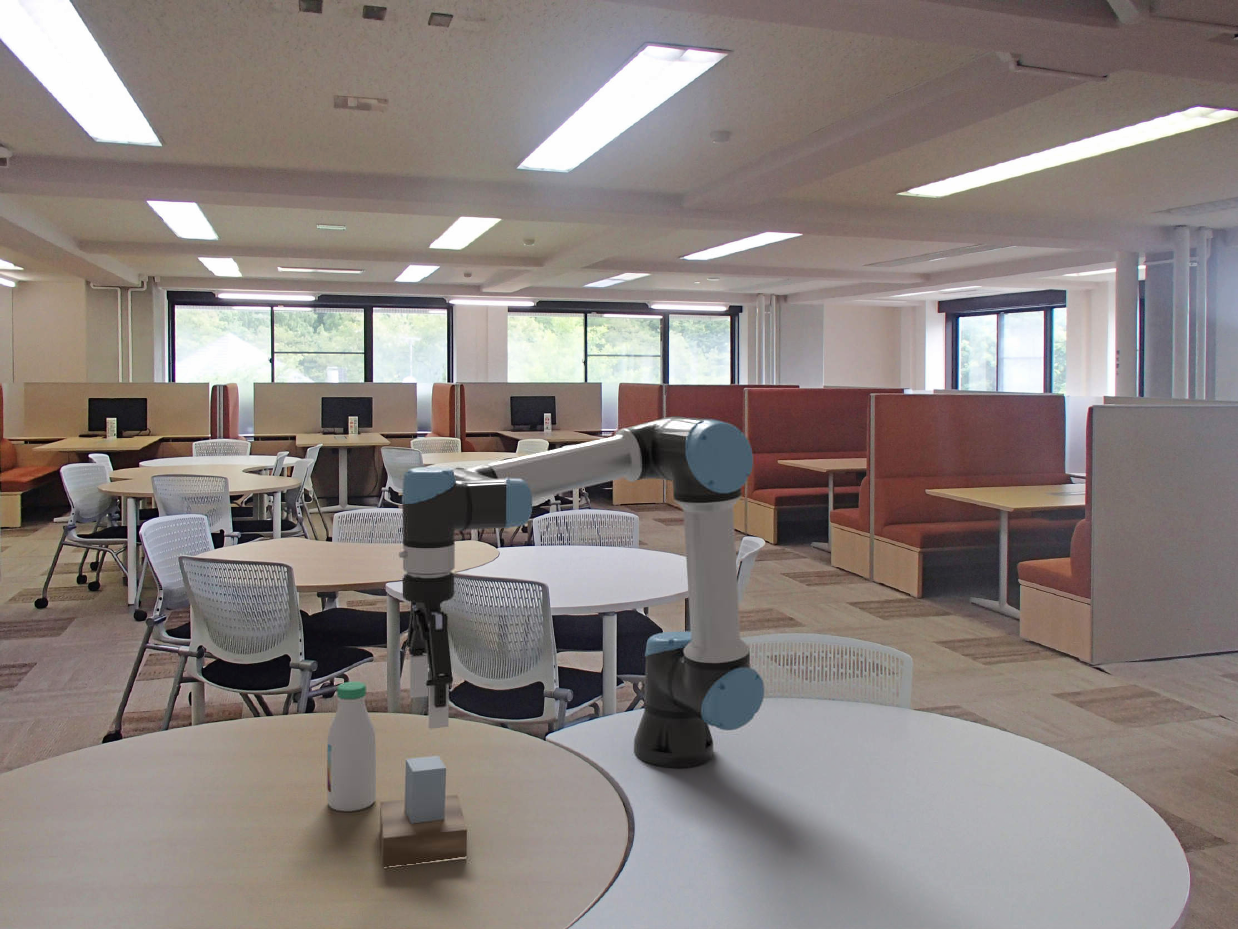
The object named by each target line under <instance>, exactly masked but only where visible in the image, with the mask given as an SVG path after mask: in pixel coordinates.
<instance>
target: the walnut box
mask: <svg viewBox="0 0 1238 929" xmlns="http://www.w3.org/2000/svg"><path fill="white" fill-rule="evenodd" d="M379 804H380V807H379V808H380V809H379V813H380V814H379V816H380V819H379V820H380V821H379V822H380V823H379V826H380V828H379V829H380V841H381V842H380V843H381V856H382V857H381V859H382V868H383V867H389V866H396V865H407V864H416V863H422V862H430V861H436V860H444V859H452V858H458V857H465V856H467V857H468V855H467V854H468V851H467V849H468V848H467V847H468V840H467V839H468V829H467V824H466V821H465V817H464V812H463V809H462V805H461V802H460V798H459V795H458V794H454V795H445V817H444V819H442V820H435V821H428V822H420V823H413V824H411V822H410V820H409V818H408V816H407V814H406V812H405V810H404V808H405V799H400V800H388V801H380V803H379Z"/></svg>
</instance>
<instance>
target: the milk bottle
mask: <svg viewBox="0 0 1238 929" xmlns="http://www.w3.org/2000/svg"><path fill="white" fill-rule="evenodd" d="M336 695H337V698H336V700H337V701H338V703H337V704H338V705H337V708H336V712H335V714H334V717H333V719H332V721H331V723H330V726H329V730H328V735H327V747H326V748H327V749H326V750H327V758H326V759H327V760H326V762H327V763H326V765H327V766H326V770H327V771H326V775H327V777H326V778H327V780H326V782H327V787H326V789H327V793H326V794H327V795H326V796H327V803H328V805H329V807H330V808H331V809H333V810H335V811H337V812H338V811H339V812H356V811H360V810H364V809H367V808H369V807H370V806H372V805H373V803H374V802H375V800H376V793H377V790H376V788H377V786H376V784H377V783H376V782H377V778H376V777H377V776H376V774H377V773H376V770H377V768H376V767H377V766H376V765H377V763H376V762H377V759H376V757H377V756H376V753H377V752H376V751H377V750H376V743H377V742H376V731H375V726H374V722H373V721H372V719H371V716H370V714H369V712H368V710H367V707H366V703H365V700H366V698H367V696H366V695H367V685H366V684H365V683H364V682H361V681H360V682H359V681H346V682H342V683H341V684H339V685H338V686H337V689H336Z"/></svg>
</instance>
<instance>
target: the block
mask: <svg viewBox="0 0 1238 929" xmlns="http://www.w3.org/2000/svg"><path fill="white" fill-rule="evenodd" d="M404 778H405V779H404V781H405V782H404V783H405V784H404V800H405V808H404V810H405V812H406V814H407V816H408V818H409V820H410V822H411V824H413V823H420V822H428V821H435V820H442V819H444V817H445V796H446V785H447V784H446V783H447V782H446V780H447V767H446V766H445V763H444V762H443V760H442V759H441V757H440V756H439V755H431V756H430V755H428V756H422V757H421V756H420V757H411V758H406V759H405V777H404Z"/></svg>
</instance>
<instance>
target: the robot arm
mask: <svg viewBox="0 0 1238 929" xmlns="http://www.w3.org/2000/svg"><path fill="white" fill-rule="evenodd" d="M752 450H753V449H752V447H751V444H750V441H749V439H748V438H747V436H746V435H745V434H744V432H743V431H741V430H740V428H738V427H736V426H735V425H734V424H731V423H729V422H724V421H722V420H720V419H719V420H718V419H715V418H714V419H711V418H699V417H687V416H669V417H668V416H667V417H664V418H660V419H656V420H652V421H648V422H647V421H646V422H644V423H640V424H638V425H633V426H629V427H624V428H620V429H618V430H617V431H616V432H615V434H614V435H613V436H610V437H605V438H601V439H596V440H592V441H587V442H581V443H579V444H573V445H568V446H564V447H559V448H555V449H551V450H547V451H542V452H537V453H533V454H529V455H523V456H520V457H519V456H518V457H515V458H510V459H505V460H504V459H503V460H501V461H497V462H496V461H495V462H492V463H487V464H483V465H478V466H473V467H469V468H463V467H458V466H457V467H450V468H449V467H439V466H438V467H437V466H436V467H435V466H434V467H432V466H431V467H430V466H429V467H428V466H426V467H423V466H422V467H413V468H410V469H408V470H406V472H405V473H404V475H403V481H402V491H401V492H402V493H401V494H402V496H401V504H402V505H401V506H402V508H401V511H402V548H403V551H399V553H398V556H399V558H400V559H402V569H403V571H404V572H405V573H404V574H403V576H402V598H403V600H406V601H407V602H409V603H410V612H409V619H408V620H409V621H408V630H407V637H406V646H407V648H408V654H409V698H410V699H415V698H425V697H428V728H429V730H432V729H439V728H447V727H449V699H450V698H449V692H450V691H449V690H450V688H449V684H452V683H453V682H454V677H453V668H452V660H451V652H450V640H449V633H448V631H449V630H448V619H449V617H448V614H447V613H445V612H444V611H442V607H441V604H442V603H444V602H447V601H450V600H451V599H453V597H454V595H455V574H454V573H453V572H452V571H453V570H454V569H455V567H456V563H455V560H456V559H455V558H456V557H455V553H456V551H455V548H456V546H455V545H456V544H455V540H456V539H455V533H456V532H458V531H459V532H462V531H463V532H464V531H469V530H470V531H472V530H489V529H504V528H505V530H507V529H509V528H514V527H521V526H524V525H526V524H527V523H528V522H529V520H530V519H531V515H532V512H533V500H536V499H542V498H545V497H549V496H553V495H557V494H562V493H566V492H570V491H574V490H579V489H583V488H587V487H592V486H595V485H600V484H603V483H608V482H612V481H615V480H620V479H625V481H627V482H630V483H631V482H636V481H640V480H647V479H649V480H650V479H653V480H664V481H670V482H672V491H673V501H674V502H675V503H676V504H677V505H679V507H681V509H682V510H683V524H684V541H685V542H684V543H685V545H684V546H685V558H686V575H687V577H686V578H687V592H688V594H687V595H688V607H689V608H688V609H689V610H688V611H689V623H690V626H689V627H690V631H687V630H685V631H684V630H683V631H667V632H665V631H664V632H659V633H656V634H652V635H651V636H650V637H649V638H648V639H647V641H646V648H645V653H644V657H645V669H644V672H645V675H644V705H643V707H644V709H643V710H644V711H643V714H642V717H641V718H640V719H641V720H640V722H639V725H638V728H637V731H636V734H635V735H634V740H633V752H634V754H635V757H637V758H638V759H640V760H642V761H643V762H646V763H649V764H652V765H655V766H659V767H666V768H692V767H697V766H700V765H703V764H705V763H707V762H709V761H710V760H711V759H712V758H713V756H714V739H713V736H712V732H711V730H710V727H709V726H711V727H715V728H718V729H719V730H721V731H722V730H723V731H734V730H735V731H736V730H738V729H740V728H742V727H744V726H745V725H747V724H749V722H751V721H752V720H753V719H754V717H755V715H756V713H758V712H759V710H760V709H761V706H762V704H763V701H764V697H765V683H764V680H763V678H762V676H761V675H760V674H759V673H758V671H756V670H755V668H754V669H753V668H751V656H750V655H751V652H750V646H749V645H748V644H747V643H746V642H745V641H744V640H743V639H741V631H740V630H741V629H740V611H739V594H738V592H739V591H738V590H739V589H738V572H737V571H738V570H737V555H736V538H735V537H736V536H735V533H736V532H735V517H734V516H735V515H734V506H735V504H736V503H737V502H738V501H739V500H740V499H741V498H742V487H743V486H744V485H745V484H746V482H747V481H748V477H749V476H751V473H752V470H753V465H754V456H753V455H754V454H753V451H752ZM429 678H430V679H429Z"/></svg>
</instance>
